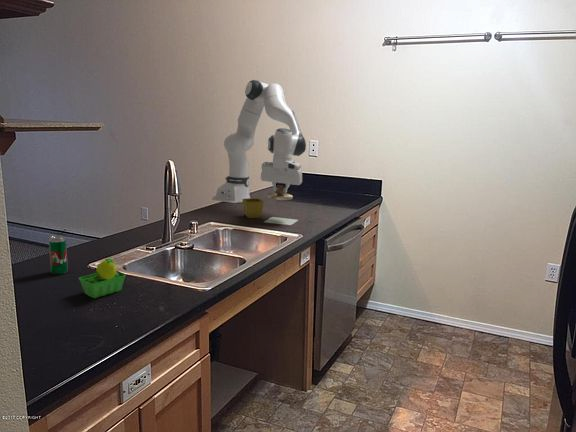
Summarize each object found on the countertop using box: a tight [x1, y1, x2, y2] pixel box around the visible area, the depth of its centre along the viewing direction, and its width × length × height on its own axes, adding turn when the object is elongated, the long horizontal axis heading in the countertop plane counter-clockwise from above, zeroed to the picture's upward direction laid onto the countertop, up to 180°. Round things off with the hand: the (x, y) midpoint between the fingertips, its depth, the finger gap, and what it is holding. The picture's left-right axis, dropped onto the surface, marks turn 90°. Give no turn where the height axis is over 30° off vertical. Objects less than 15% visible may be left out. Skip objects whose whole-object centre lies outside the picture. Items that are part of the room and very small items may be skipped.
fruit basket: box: [78, 257, 126, 299], centre depth 144 cm, size 11×9×11 cm
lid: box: [267, 185, 293, 201], centre depth 235 cm, size 12×12×6 cm
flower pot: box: [242, 197, 265, 219], centre depth 244 cm, size 9×9×9 cm
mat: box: [263, 216, 299, 226], centre depth 238 cm, size 14×12×1 cm
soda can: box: [48, 235, 69, 276], centre depth 158 cm, size 5×5×12 cm
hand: (280, 192), depth 235 cm, fingers closed on lid, 3 cm apart
